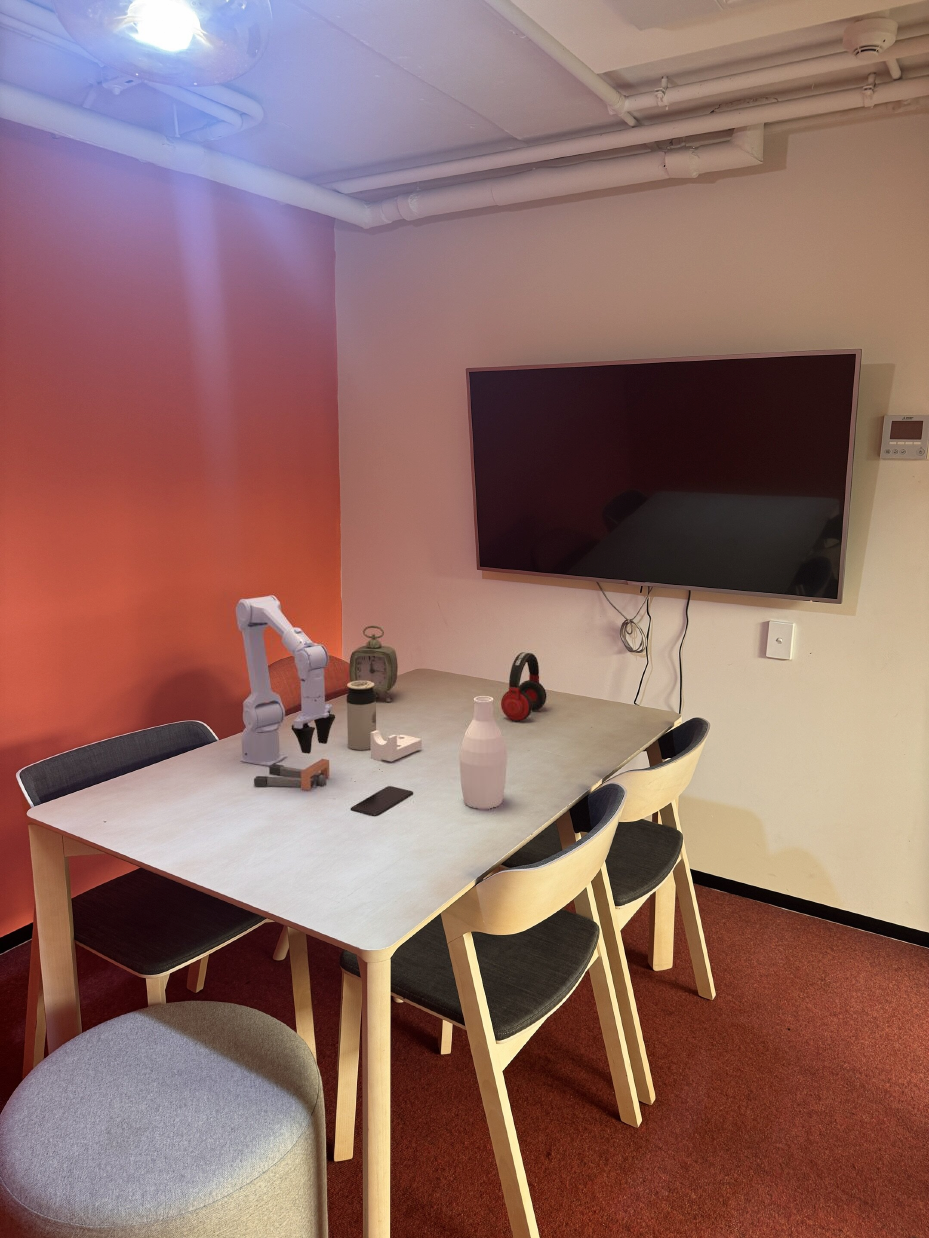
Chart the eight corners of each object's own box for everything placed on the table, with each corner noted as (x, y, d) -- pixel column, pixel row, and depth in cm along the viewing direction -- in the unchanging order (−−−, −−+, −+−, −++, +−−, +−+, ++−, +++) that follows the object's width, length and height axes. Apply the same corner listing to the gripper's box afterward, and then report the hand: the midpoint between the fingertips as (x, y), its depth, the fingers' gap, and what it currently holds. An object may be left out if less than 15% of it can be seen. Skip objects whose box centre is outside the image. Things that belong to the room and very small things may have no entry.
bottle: (452, 797, 208) (451, 694, 203) (494, 790, 212) (495, 689, 207) (470, 815, 198) (471, 707, 193) (514, 807, 202) (516, 702, 197)
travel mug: (342, 748, 241) (341, 686, 238) (356, 739, 249) (355, 679, 245) (368, 752, 239) (366, 689, 235) (381, 743, 246) (380, 681, 242)
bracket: (390, 765, 230) (390, 737, 228) (370, 759, 234) (370, 732, 232) (421, 751, 240) (421, 725, 239) (402, 746, 244) (401, 720, 243)
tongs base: (331, 781, 218) (331, 771, 217) (322, 787, 214) (322, 777, 213) (274, 771, 224) (274, 761, 224) (264, 776, 221) (264, 767, 220)
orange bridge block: (329, 776, 220) (329, 759, 219) (308, 790, 211) (307, 772, 210) (322, 775, 221) (322, 758, 220) (301, 788, 212) (300, 771, 211)
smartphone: (376, 819, 197) (415, 794, 210) (376, 815, 197) (415, 791, 210) (348, 811, 201) (388, 788, 214) (348, 808, 201) (388, 784, 214)
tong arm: (314, 784, 215) (314, 778, 215) (311, 787, 213) (311, 781, 212) (257, 782, 216) (256, 775, 216) (254, 785, 214) (253, 779, 214)
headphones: (527, 725, 262) (528, 661, 258) (497, 720, 266) (498, 657, 262) (549, 710, 277) (550, 649, 273) (520, 706, 282) (521, 645, 278)
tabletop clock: (350, 702, 286) (348, 627, 281) (357, 694, 294) (356, 622, 290) (392, 704, 283) (391, 629, 278) (399, 696, 292) (398, 623, 287)
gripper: (310, 704, 204) (312, 759, 207) (342, 689, 217) (343, 740, 220) (285, 701, 207) (287, 755, 209) (318, 686, 220) (319, 737, 222)
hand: (314, 747), depth 215 cm, fingers open, 7 cm apart
